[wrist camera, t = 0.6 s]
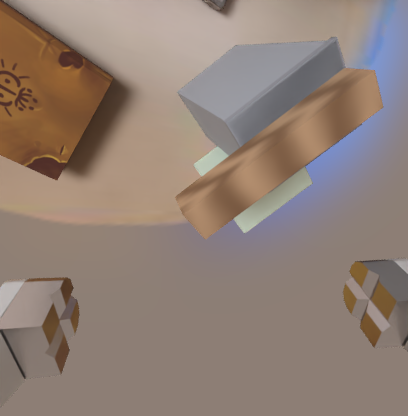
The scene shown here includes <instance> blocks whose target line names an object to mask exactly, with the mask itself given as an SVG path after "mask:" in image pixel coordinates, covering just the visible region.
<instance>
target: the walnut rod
mask: <svg viewBox="0 0 408 416" xmlns="http://www.w3.org/2000/svg"><path fill="white" fill-rule="evenodd" d="M382 108H383V104H382V99H381V95H380V91H379V86H378V82H377V78H376V73H375V70H364V69H350V68H344V69H342V70H341V71H340V72H338V73H337V74H336V75H334V76H333V77H332V78H331V79H329V80H328V81H327V82H325V83H324V84H323V85H321V86H320V87H319V88H317V89H316V90H315V91H313V92H312V93H311V94H310V95H308V96H307V97H306V98H304V99H303V100H302V101H300V102H299V103H298V104H296V105H295V106H294V107H292V108H291V109H290V110H289V111H287V112H286V113H285V114H283V115H282V116H281V117H279V118H278V119H277V120H275V121H274V122H273V123H271V124H270V125H269V126H268V127H266V128H265V129H264V130H262V131H261V132H260V133H258V134H257V135H256V136H254V137H253V138H252V139H251V140H249V141H248V142H247V143H245V144H244V145H243V146H241V147H240V148H239V149H237V150H236V151H235V152H233V153H232V154H231V155H230V156H228V157H227V158H226V159H224V160H223V161H222V162H220V163H219V164H218V165H216V166H215V167H214V168H212V169H211V170H210V171H209V172H207V173H206V174H205V175H203V176H202V177H201V178H199V179H198V180H197V181H195V182H194V183H193V184H191V185H190V186H189V187H188V188H186V189H185V190H184V191H182V192H181V193H180V194H178V195H177V196H176V197H175V198H176V200H177V202H178V205H179V207H180V209H181V211H182V214H183V215H184V217H185V218H186V219H187V220H188V221H189V222H190V223H191V224H192V225H193V227H194V228H196V230H197V231H198V232H199V233H200V234H201V235H202V236H203V238H204V239H207V238H208V237H209V236H211V235H212V234H213V233H215V232H216V231H217V230H219V229H220V228H222V227H223V226H224V225H226V224H227V223H228V222H229V221H231V220H232V219H234V218H235V217H236V216H238V215H239V214H240V213H242V212H243V211H244V210H246V209H247V208H248V207H250V206H251V205H252V204H254V203H255V202H257V201H258V200H259V199H261V198H262V197H263V196H265V195H266V194H267V193H269V192H270V191H271V190H273V189H274V188H275V187H277V186H278V185H279V184H281V183H282V182H283V181H285V180H286V179H287V178H289V177H290V176H292V175H293V174H294V173H296V172H297V171H298V170H300V169H301V168H302V167H304V166H305V165H306V164H308V163H309V162H310V161H312V160H313V159H314V158H316V157H317V156H318V155H320V154H321V153H322V152H324V151H325V150H327V149H328V148H329V147H331V146H332V145H333V144H335V143H336V142H337V141H339V140H340V139H341V138H343V137H344V136H345V135H347V134H348V133H349V132H351V131H352V130H353V129H355V128H356V127H357V126H359V125H360V124H362V123H363V122H364V121H365V120H367V119H368V118H370V117H371V116H372V115H374V114H375V113H376V112H378V111H379V110H380V109H382Z"/></svg>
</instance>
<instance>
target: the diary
mask: <svg viewBox="0 0 408 416" xmlns="http://www.w3.org/2000/svg"><path fill="white" fill-rule="evenodd" d="M112 80H113V77H112V76H111V75H109V74H108V73H106V72H105V71H103V70H102V69H101V68H99V67H98V66H96V65H95V64H93V63H92V62H90V61H89V60H87V59H86V58H85V57H83V56H82V55H80V54H79V53H77V52H76V51H74V50H73V49H72V48H70V47H69V46H67V45H66V44H64V43H63V42H61V41H60V40H58V39H57V38H56V37H54V36H53V35H51V34H50V33H48V32H47V31H45V30H44V29H42V28H41V27H40V26H38V25H37V24H35V23H34V22H32V21H31V20H29V19H28V18H26V17H25V16H24V15H22V14H21V13H19V12H18V11H16V10H15V9H13V8H12V7H11V6H9V5H8V4H6V3H5V2H3V1H2V0H0V155H1V156H4V157H6V158H8V159H10V160H12V161H15V162H17V163H19V164H21V165H24V166H26V167H28V168H30V169H32V170H35V171H37V172H39V173H41V174H44V175H46V176H48V177H50V178H52V179H55V180H58V178H59V176H60V174H61V172H62V171H63V169H64V167H65V165H66V163H67V162H68V160H69V158H70V156H71V154H72V153H73V151H74V149H75V147H76V145H77V144H78V142H79V140H80V138H81V136H82V134H83V133H84V131H85V129H86V127H87V125H88V124H89V122H90V120H91V118H92V116H93V115H94V113H95V111H96V109H97V107H98V106H99V104H100V102H101V100H102V98H103V97H104V95H105V93H106V91H107V89H108V87H109V86H110V84H111V82H112Z"/></svg>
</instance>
